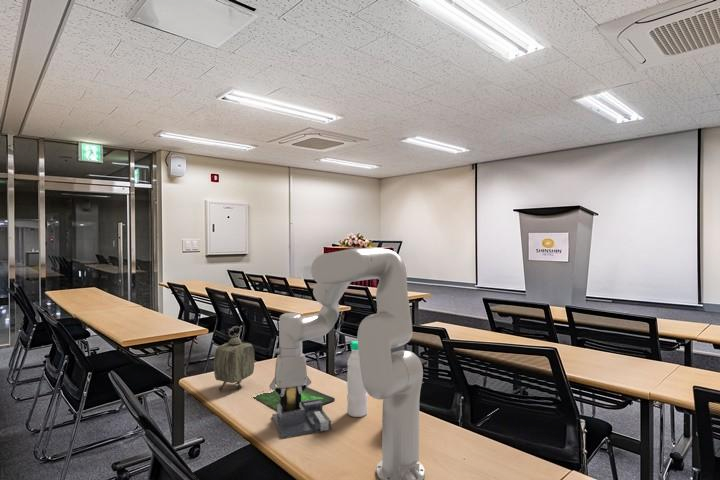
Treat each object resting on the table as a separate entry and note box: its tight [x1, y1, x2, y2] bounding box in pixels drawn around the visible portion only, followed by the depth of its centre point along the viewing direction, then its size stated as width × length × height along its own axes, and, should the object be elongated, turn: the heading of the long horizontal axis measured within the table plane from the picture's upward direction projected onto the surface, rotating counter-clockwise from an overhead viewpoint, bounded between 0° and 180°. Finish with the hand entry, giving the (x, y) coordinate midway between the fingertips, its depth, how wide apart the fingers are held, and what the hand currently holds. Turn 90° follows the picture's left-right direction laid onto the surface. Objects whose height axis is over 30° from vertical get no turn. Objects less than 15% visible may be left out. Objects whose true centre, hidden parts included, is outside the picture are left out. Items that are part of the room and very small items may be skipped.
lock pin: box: [314, 411, 330, 432], centre depth 133 cm, size 9×3×3 cm, turn 22°
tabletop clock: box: [213, 325, 255, 392], centre depth 168 cm, size 14×9×25 cm, turn 154°
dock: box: [271, 399, 333, 439], centre depth 137 cm, size 16×16×5 cm
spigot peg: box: [284, 387, 297, 411], centre depth 137 cm, size 4×4×10 cm
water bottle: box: [346, 340, 368, 418], centre depth 144 cm, size 7×7×25 cm
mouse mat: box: [252, 386, 336, 412], centre depth 158 cm, size 27×22×1 cm
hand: (290, 405), depth 137 cm, fingers closed on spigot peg, 4 cm apart
